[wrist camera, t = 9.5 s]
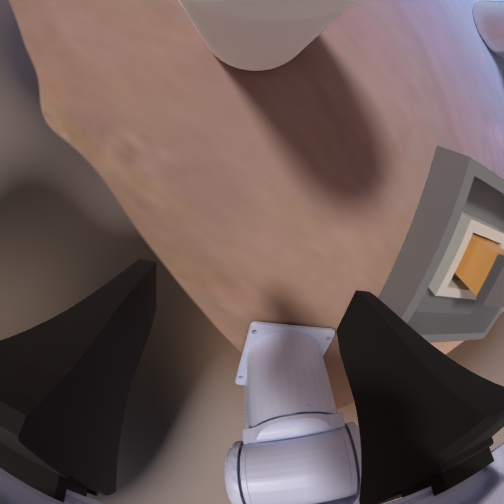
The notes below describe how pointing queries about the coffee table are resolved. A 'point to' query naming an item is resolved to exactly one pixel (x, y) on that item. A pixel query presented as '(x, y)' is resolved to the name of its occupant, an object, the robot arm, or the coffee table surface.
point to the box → (447, 251)
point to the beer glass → (490, 24)
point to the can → (261, 28)
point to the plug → (483, 270)
